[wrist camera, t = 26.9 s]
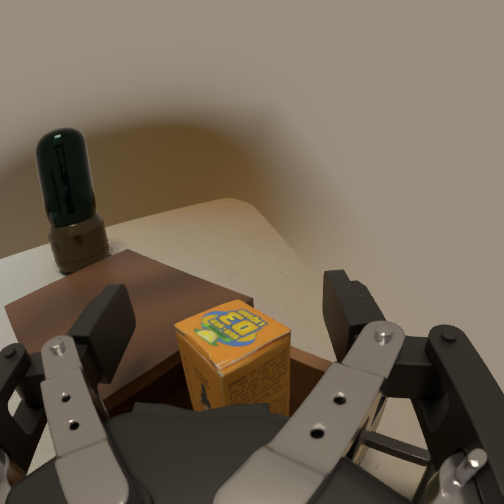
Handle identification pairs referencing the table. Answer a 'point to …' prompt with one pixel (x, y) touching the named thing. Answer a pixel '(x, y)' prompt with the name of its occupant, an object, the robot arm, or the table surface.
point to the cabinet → (145, 309)
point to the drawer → (301, 384)
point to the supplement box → (235, 358)
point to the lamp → (70, 200)
